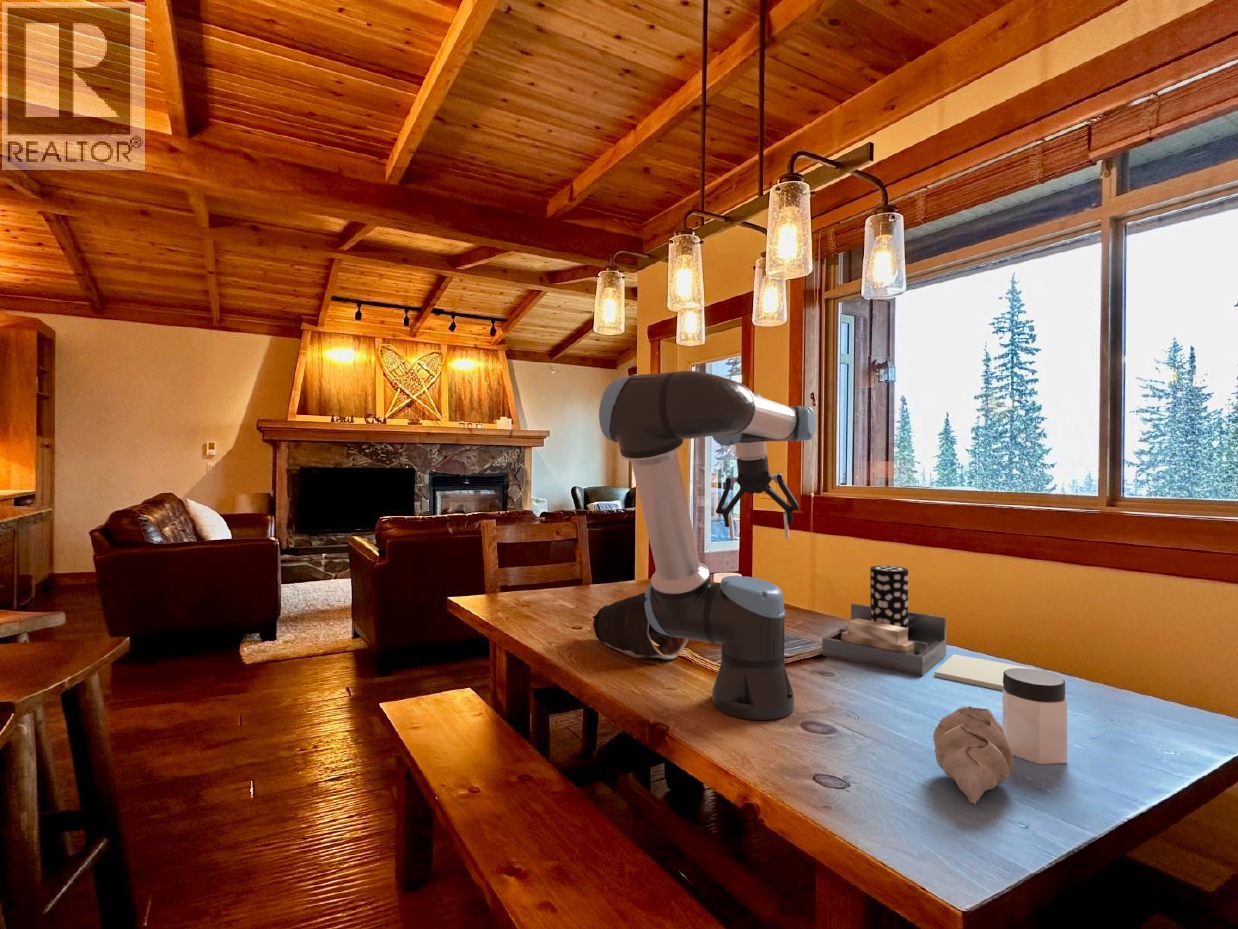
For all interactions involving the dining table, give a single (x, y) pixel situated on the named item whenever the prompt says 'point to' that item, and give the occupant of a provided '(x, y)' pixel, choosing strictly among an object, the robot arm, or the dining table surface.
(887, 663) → the tray
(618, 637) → the clay pot
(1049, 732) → the jar
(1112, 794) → the dining table surface
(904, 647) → the offcut middle
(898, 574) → the spotted tube
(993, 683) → the mat
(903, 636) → the offcut top
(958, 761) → the seashell
